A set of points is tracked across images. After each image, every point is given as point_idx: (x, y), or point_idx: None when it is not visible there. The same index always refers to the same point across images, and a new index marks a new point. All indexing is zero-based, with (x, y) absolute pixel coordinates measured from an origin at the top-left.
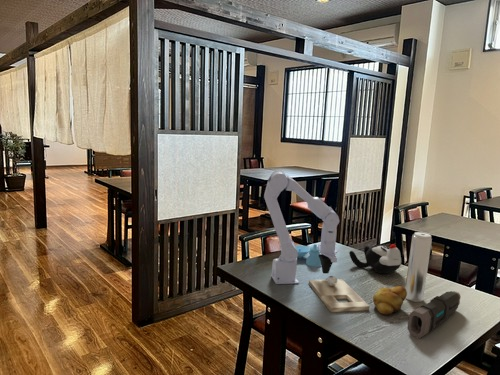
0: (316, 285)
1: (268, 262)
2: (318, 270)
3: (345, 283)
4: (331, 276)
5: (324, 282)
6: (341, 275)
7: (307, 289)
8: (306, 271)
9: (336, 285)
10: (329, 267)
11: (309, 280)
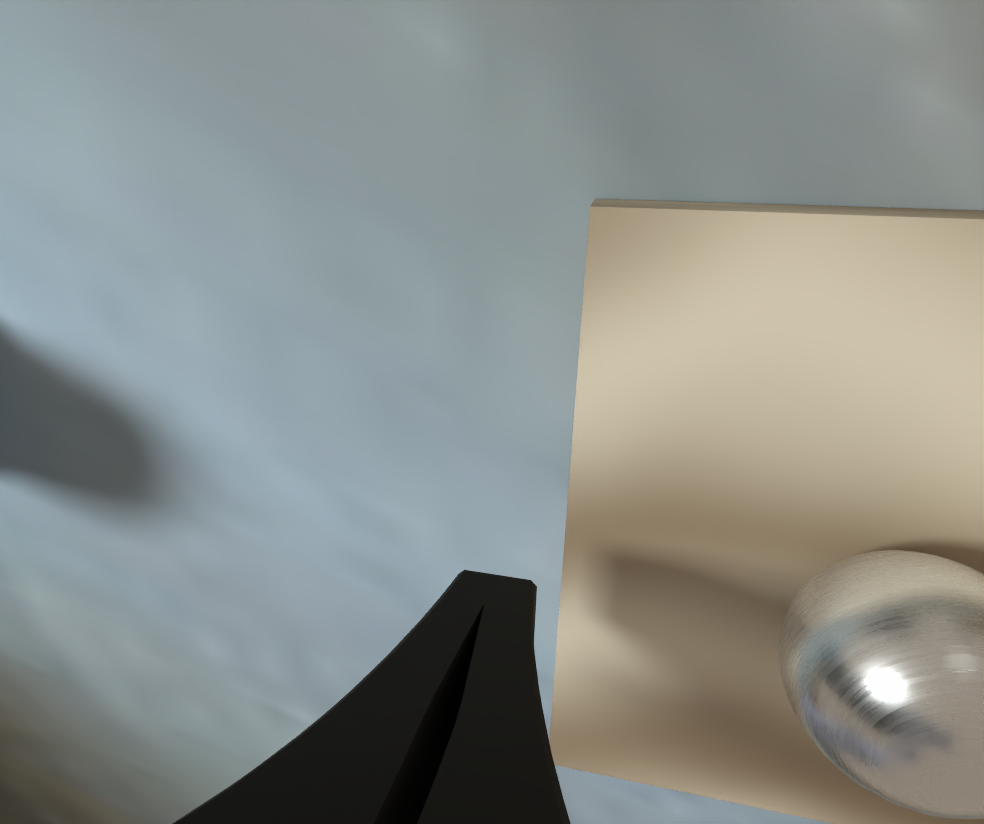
0: (757, 772)
1: (25, 787)
2: (103, 385)
3: (853, 242)
4: (957, 805)
5: (679, 622)
6: (250, 17)
7: (721, 800)
8: (174, 563)
9: (879, 497)
10: (528, 710)
11: (563, 764)
